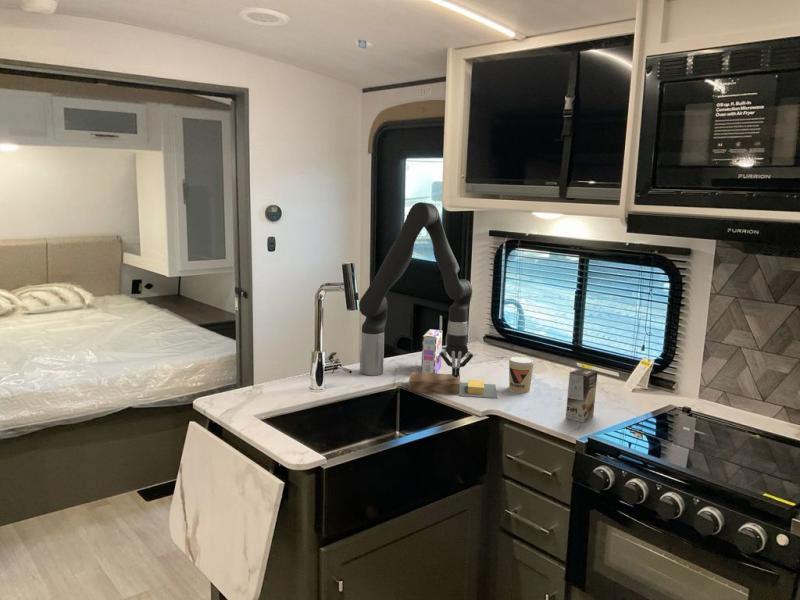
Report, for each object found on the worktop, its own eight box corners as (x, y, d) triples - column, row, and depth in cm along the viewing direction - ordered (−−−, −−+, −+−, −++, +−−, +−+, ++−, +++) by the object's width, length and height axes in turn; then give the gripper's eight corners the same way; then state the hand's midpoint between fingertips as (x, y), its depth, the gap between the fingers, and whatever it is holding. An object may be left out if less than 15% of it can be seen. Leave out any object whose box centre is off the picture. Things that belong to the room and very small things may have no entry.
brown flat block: (408, 391, 231) (408, 381, 231) (411, 381, 243) (411, 371, 242) (459, 394, 229) (459, 384, 229) (459, 384, 241) (460, 374, 240)
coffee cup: (503, 391, 235) (505, 360, 233) (511, 384, 243) (513, 355, 241) (527, 395, 231) (530, 364, 229) (534, 388, 239) (536, 358, 237)
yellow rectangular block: (484, 387, 229) (483, 394, 230) (483, 380, 238) (483, 386, 239) (468, 386, 230) (467, 393, 230) (468, 379, 239) (467, 385, 239)
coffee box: (583, 423, 204) (587, 376, 202) (565, 418, 208) (568, 372, 206) (594, 416, 211) (598, 370, 209) (576, 411, 215) (580, 367, 213)
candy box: (434, 375, 252) (436, 336, 249) (420, 374, 253) (422, 335, 250) (441, 367, 265) (442, 329, 262) (428, 365, 266) (429, 328, 263)
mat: (459, 396, 227) (459, 395, 227) (459, 383, 243) (459, 382, 243) (497, 398, 226) (497, 397, 226) (495, 385, 242) (495, 384, 242)
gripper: (439, 333, 228) (437, 378, 231) (475, 335, 227) (473, 380, 230) (440, 329, 236) (438, 373, 239) (475, 331, 234) (472, 374, 237)
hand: (455, 376), depth 234 cm, fingers closed
